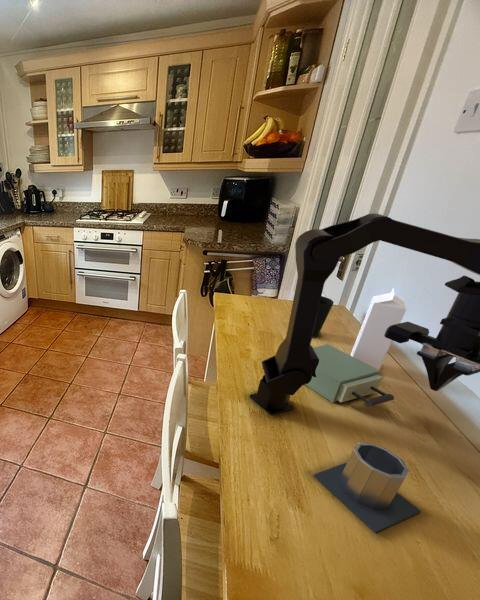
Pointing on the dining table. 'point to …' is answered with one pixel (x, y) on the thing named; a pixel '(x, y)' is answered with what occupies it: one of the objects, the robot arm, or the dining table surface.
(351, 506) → the pad
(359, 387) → the drawer
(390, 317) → the milk
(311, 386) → the sage green angled casing
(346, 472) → the tumbler
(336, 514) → the dining table surface
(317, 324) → the cup
